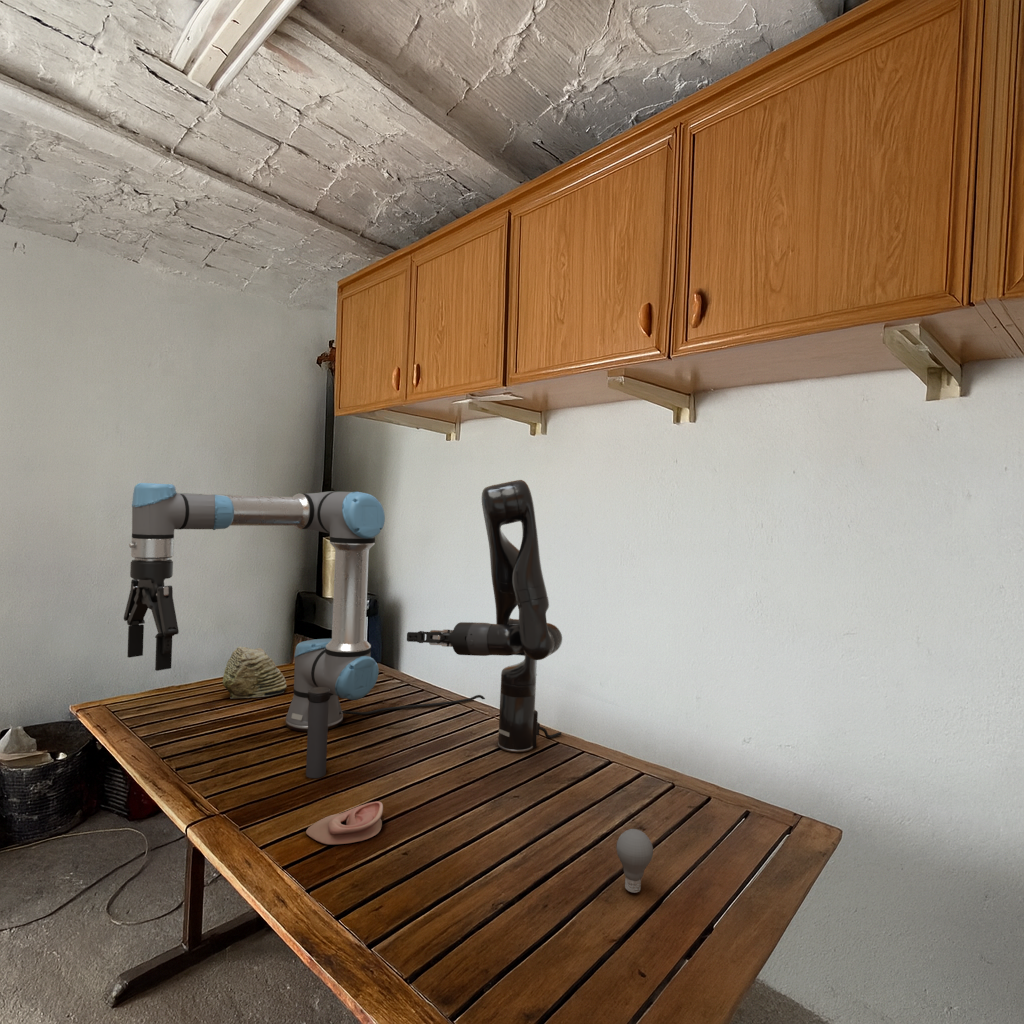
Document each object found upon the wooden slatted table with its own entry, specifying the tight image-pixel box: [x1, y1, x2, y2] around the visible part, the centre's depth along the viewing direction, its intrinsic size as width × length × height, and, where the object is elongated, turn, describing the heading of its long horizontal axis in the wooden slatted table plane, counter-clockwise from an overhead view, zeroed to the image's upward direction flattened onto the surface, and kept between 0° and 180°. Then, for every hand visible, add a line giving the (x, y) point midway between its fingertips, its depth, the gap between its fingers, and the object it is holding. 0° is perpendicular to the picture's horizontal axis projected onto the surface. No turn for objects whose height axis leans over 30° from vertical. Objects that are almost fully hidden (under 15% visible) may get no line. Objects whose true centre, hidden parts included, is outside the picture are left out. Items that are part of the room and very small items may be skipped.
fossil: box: [222, 646, 288, 699], centre depth 198 cm, size 9×18×15 cm, turn 132°
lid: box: [308, 687, 330, 702], centre depth 144 cm, size 5×5×2 cm
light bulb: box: [615, 828, 654, 894], centre depth 106 cm, size 6×6×10 cm
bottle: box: [305, 700, 329, 779], centre depth 144 cm, size 4×4×19 cm
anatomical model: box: [305, 800, 384, 846], centre depth 121 cm, size 13×4×12 cm
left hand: (148, 662), depth 129 cm, fingers open, 13 cm apart
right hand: (417, 637), depth 153 cm, fingers open, 8 cm apart
